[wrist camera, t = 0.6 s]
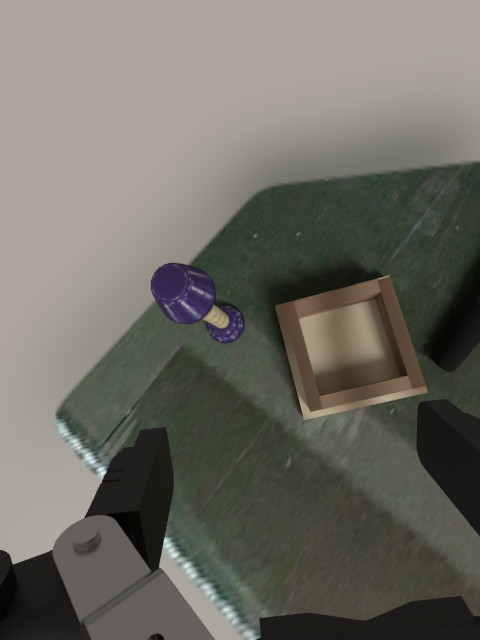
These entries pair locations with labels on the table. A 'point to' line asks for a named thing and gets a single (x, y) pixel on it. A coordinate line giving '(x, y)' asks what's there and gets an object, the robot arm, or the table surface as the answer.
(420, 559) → the table surface
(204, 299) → the toy lamp
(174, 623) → the robot arm
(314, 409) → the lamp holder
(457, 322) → the electric trimmer
